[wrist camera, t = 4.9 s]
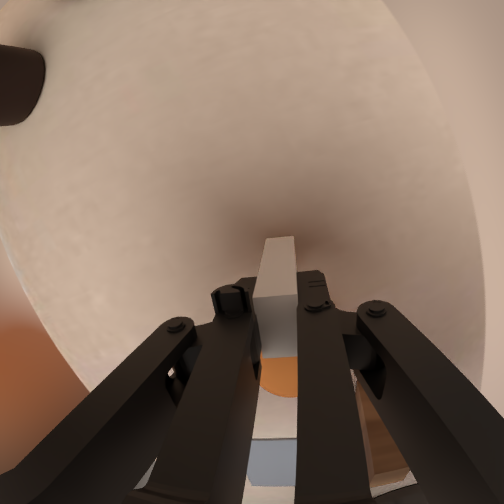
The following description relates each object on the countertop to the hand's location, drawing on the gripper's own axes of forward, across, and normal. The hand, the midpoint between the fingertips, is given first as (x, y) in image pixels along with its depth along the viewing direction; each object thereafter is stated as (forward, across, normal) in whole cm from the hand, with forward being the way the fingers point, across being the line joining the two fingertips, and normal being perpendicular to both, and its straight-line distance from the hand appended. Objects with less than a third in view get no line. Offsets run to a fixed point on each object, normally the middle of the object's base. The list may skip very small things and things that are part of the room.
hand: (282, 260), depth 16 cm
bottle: (+2, +19, -17) cm, 25 cm away
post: (+2, -6, +13) cm, 15 cm away
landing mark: (+2, 0, +27) cm, 27 cm away
